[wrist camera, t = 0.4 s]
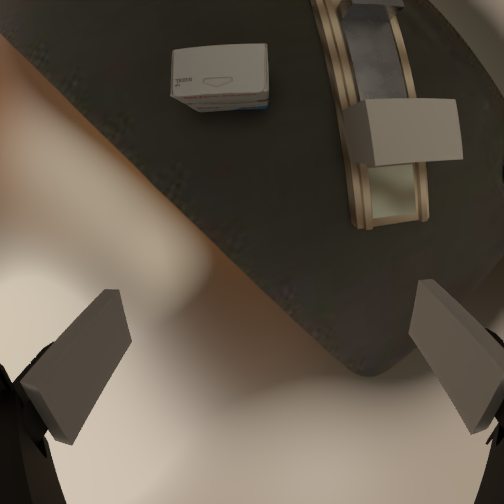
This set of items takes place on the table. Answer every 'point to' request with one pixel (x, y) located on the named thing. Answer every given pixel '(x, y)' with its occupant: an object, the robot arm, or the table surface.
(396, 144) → the tunnel
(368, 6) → the sled
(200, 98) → the ink box
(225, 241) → the table surface
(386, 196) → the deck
